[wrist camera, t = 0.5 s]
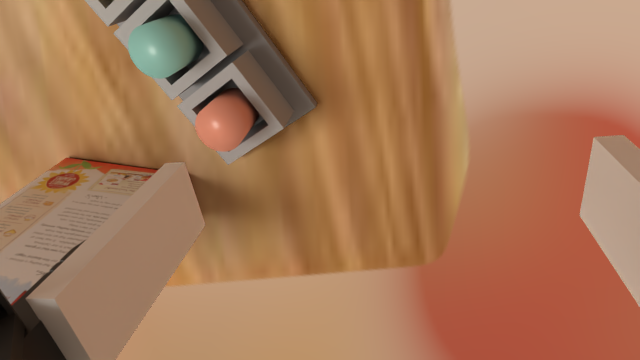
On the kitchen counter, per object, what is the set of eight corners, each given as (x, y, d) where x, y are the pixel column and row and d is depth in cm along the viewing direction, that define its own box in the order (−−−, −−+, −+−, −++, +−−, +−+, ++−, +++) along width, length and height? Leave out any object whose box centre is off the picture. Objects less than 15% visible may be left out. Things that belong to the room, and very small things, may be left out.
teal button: (148, 33, 34) (117, 44, 30) (179, 3, 32) (151, 12, 28) (181, 72, 35) (155, 88, 31) (212, 45, 33) (189, 59, 30)
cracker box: (79, 201, 48) (-108, 357, 30) (66, 154, 45) (-150, 297, 27) (195, 219, 47) (71, 394, 29) (191, 172, 44) (49, 335, 26)
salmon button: (206, 103, 36) (185, 122, 32) (238, 78, 34) (219, 96, 31) (235, 137, 37) (218, 159, 33) (267, 115, 36) (252, 136, 32)
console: (65, -47, 35) (18, -45, 30) (140, -139, 31) (98, -151, 26) (237, 156, 42) (219, 181, 38) (317, 103, 38) (307, 124, 33)
